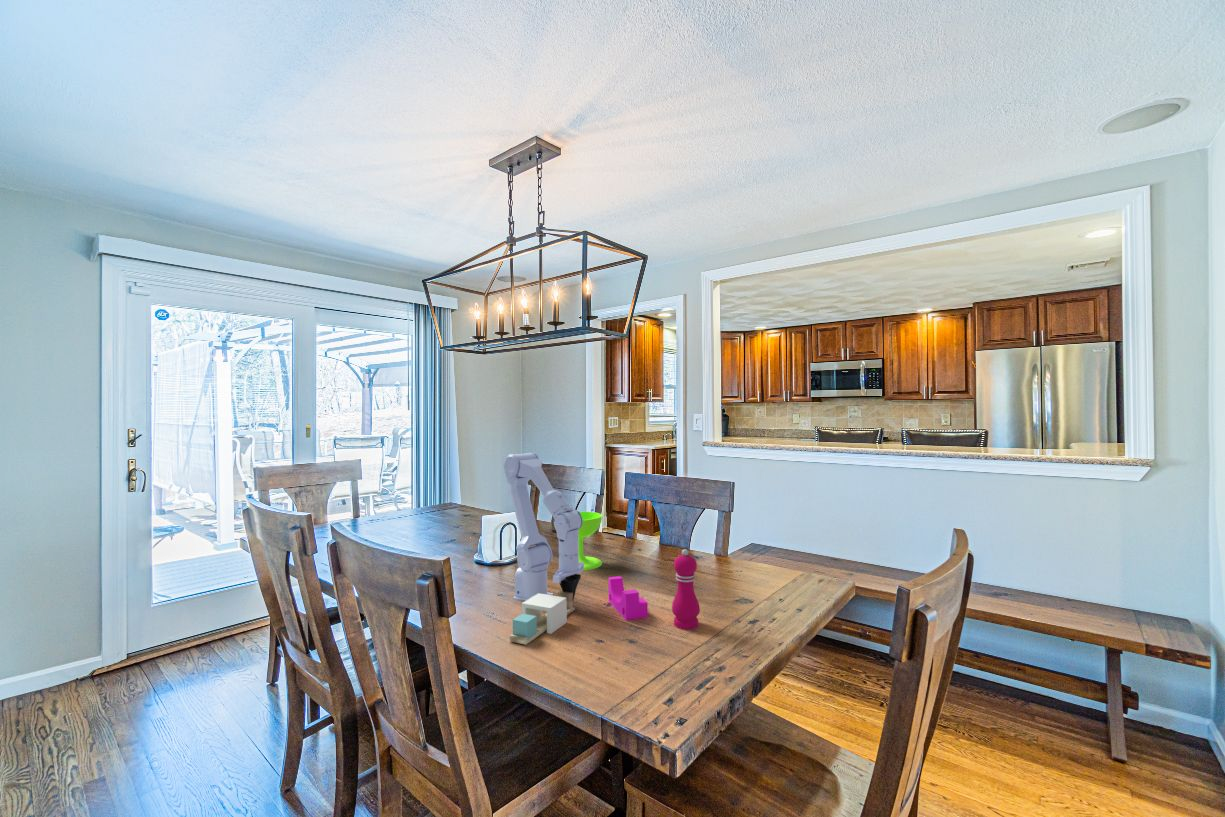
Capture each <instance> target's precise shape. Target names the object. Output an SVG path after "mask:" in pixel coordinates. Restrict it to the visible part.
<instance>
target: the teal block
mask: <svg viewBox="0 0 1225 817" xmlns="http://www.w3.org/2000/svg"><path fill="white" fill-rule="evenodd" d="M536 633H537V616H533V615H527V614H522V613H521V614H518V616H516V617H515V618H513V619H512V634H513V635H517V636H522V637H527V639H529V638H530V637H532V636H533V635H535V634H536Z"/></svg>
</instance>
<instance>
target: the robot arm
mask: <svg viewBox="0 0 1225 817" xmlns="http://www.w3.org/2000/svg"><path fill="white" fill-rule="evenodd" d="M542 464H543V462H542V460H541V459H540V456H539V455H538V454H537V452H533V451H530V452H528V453H527V452H526V453H515V454H514V453H510V454H508V455H507V456H506V458H505V460H504V463H503V466H502V467H503V469H504V473H505V477H506V482H507V485H508V489H509V492H510V498H511V501H512V505H513V509H514V512H515V513H514V514H515V517H516V521H517V524H518V525H517V526H518V529H519V533H520V537H521V539H520V541H519V542H518V544H517V545H516V553H517V555H516V562H517V564H518V566H519V567H518V568H517V569H516V571H515V574H514V596H513V598H512V599H514V600H519V601H523V602H524V601H526V600H528V599H530V598H531V597H533V596H535V595H536V594H538V593H540V594H546V595H553V596H554V593H553V592H550V591H549V592H548V568H549V566H550V563H551V562H552V560H553V549H552V548H551V546H550V545H549V543H548V539H547V537H545V536H543V535H541V534H540V533H539V532H540V531H539V528H538V524H537V521H536V517H535V512H534V509H533V505H532V500H531V496H530V494H529V489H528V486H527V484H528V483H529V481H530V480H531V482H532V483H533V484H534V485H535V487H536V488H537V489H538V490H539V491H540V493H541V494H542V495H543V504H544V505H545V507H546V509H547V510H548V512H549V513H550V514H551V516H552V518H553V519H554V521H553V526H554V529H555V531H556V537H557V539H558V569H557V570H556V572H555V574H554V575H552V583H553V584H558V585H560V588H561V591H563V592H570V593H573V601H574V600H575V596H576V592H577V588H578V584H579V582H580V580H581V579H582V578H581V577H582V576H581V574H582V573H583V571H584V570H583V569H584V563H583V562H579V535H578V529H580V528H581V526H582V523H583V519H582V516H581V514H580V512H581V511H579V510H577V509H574V508H573V507H571V506H570V504H569V503H568V501H567V500H566V498H565V497H564V494H563V493H562V492H561V491H560V490H556V489H554V487H553V486H552V484H551V483H550V481H549V479H548V477H547V475H546V473H545V472H544V469H543V468H542V466H543V465H542Z"/></svg>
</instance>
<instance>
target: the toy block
mask: <svg viewBox="0 0 1225 817" xmlns="http://www.w3.org/2000/svg"><path fill="white" fill-rule="evenodd" d="M607 580H608V581H607V582H608V583H607V584H608V585H607V586H608V593H607V594H608V602H609V604H611V605H612V606H613V608H614V609H615V610H616V611H617V612H618V613H619V614H620V615H621V616H622V618H624V620H625V621H630V620H631V621H632V620H637V619H642V618H643V619H645V618H649V617H648V615H649V613H648V610H649V609H648V604H649V603H648V602H647V600H646V599H644V598H643V596H641V597H640V592H639V591H638V590H636V588H635V589H628V590H625V587H624V580H623V577H622V576H620V575H619V576H610V577H608V578H607Z"/></svg>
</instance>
